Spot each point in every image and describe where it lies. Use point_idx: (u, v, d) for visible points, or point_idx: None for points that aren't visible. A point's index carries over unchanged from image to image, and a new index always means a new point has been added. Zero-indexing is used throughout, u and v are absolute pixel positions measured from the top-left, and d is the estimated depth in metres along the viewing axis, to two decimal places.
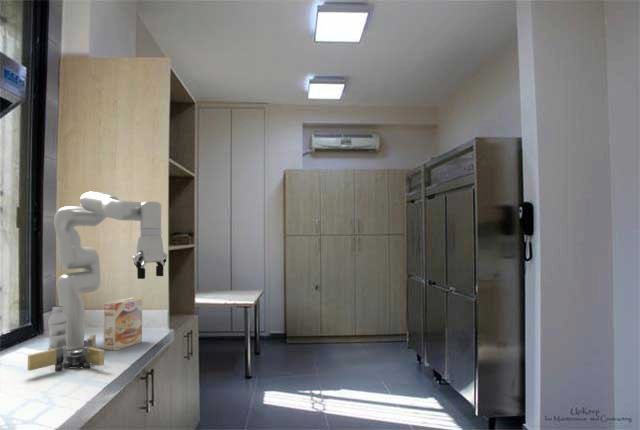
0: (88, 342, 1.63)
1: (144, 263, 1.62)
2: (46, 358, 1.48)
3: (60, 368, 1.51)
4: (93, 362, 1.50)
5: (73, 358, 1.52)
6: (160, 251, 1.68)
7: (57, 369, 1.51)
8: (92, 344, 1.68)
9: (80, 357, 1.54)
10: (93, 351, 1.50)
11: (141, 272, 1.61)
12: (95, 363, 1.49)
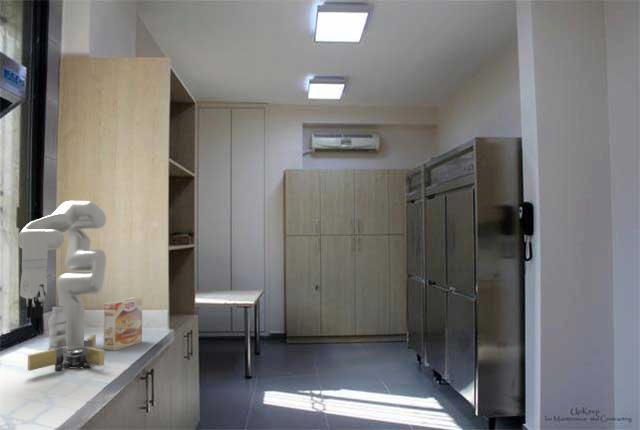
0: (88, 342, 1.63)
1: None
2: (46, 358, 1.48)
3: (60, 368, 1.51)
4: (93, 362, 1.50)
5: (73, 358, 1.52)
6: None
7: (57, 369, 1.51)
8: (92, 344, 1.68)
9: (80, 357, 1.54)
10: (93, 351, 1.50)
11: None
12: (95, 363, 1.49)
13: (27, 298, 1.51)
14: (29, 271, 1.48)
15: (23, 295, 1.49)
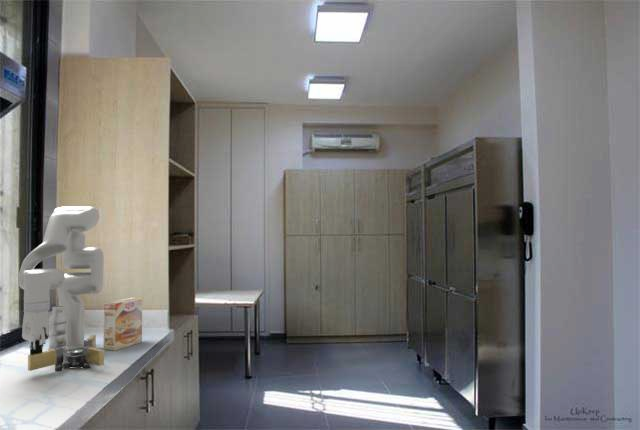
0: (88, 342, 1.63)
1: None
2: (46, 358, 1.48)
3: (60, 368, 1.51)
4: (93, 362, 1.50)
5: (73, 358, 1.52)
6: None
7: (57, 369, 1.51)
8: (92, 344, 1.68)
9: (80, 357, 1.54)
10: (93, 351, 1.50)
11: None
12: (95, 363, 1.49)
13: (30, 340, 1.48)
14: (31, 314, 1.46)
15: (25, 338, 1.47)
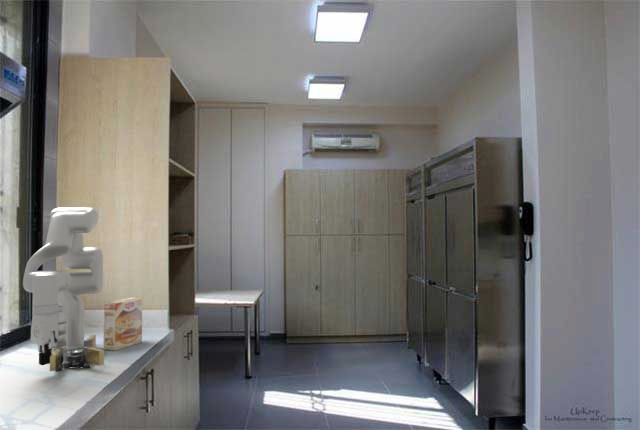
0: (88, 342, 1.63)
1: None
2: (58, 358, 1.48)
3: None
4: (93, 362, 1.50)
5: (73, 358, 1.52)
6: None
7: (60, 368, 1.51)
8: (92, 344, 1.68)
9: (80, 357, 1.54)
10: (93, 351, 1.50)
11: None
12: (95, 363, 1.49)
13: None
14: (40, 317, 1.43)
15: (34, 341, 1.44)
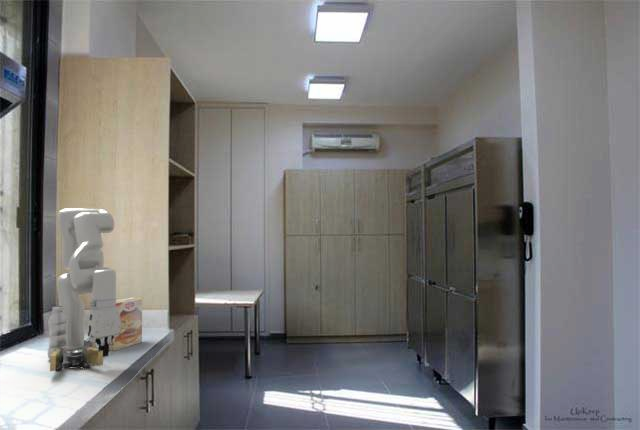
0: (88, 342, 1.63)
1: None
2: (58, 358, 1.48)
3: None
4: (92, 362, 1.50)
5: (73, 358, 1.52)
6: None
7: (60, 368, 1.51)
8: (92, 344, 1.68)
9: (80, 357, 1.54)
10: (92, 351, 1.50)
11: None
12: (94, 363, 1.49)
13: (102, 338, 1.51)
14: (114, 309, 1.54)
15: (104, 335, 1.50)
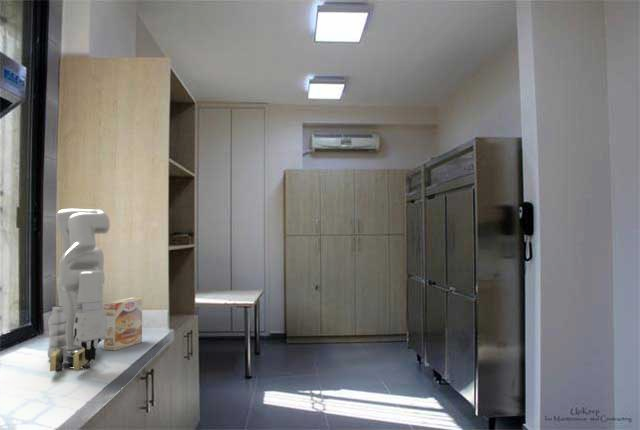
0: None
1: None
2: (58, 358, 1.48)
3: None
4: None
5: (73, 358, 1.52)
6: None
7: (60, 368, 1.51)
8: None
9: None
10: None
11: None
12: None
13: (88, 341, 1.47)
14: (100, 312, 1.50)
15: (90, 338, 1.46)
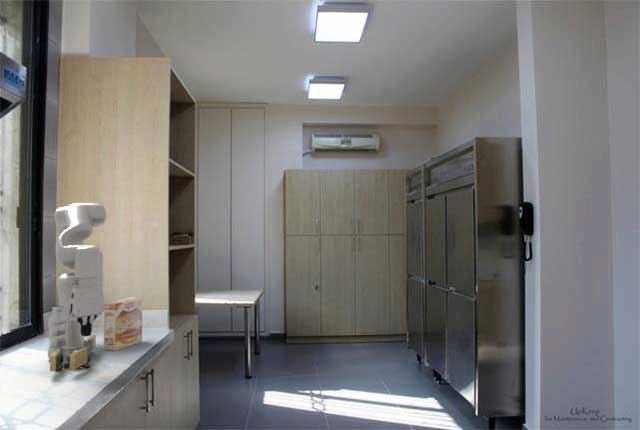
0: (88, 342, 1.63)
1: None
2: (58, 358, 1.48)
3: None
4: None
5: None
6: None
7: (60, 368, 1.51)
8: (92, 344, 1.68)
9: None
10: None
11: None
12: None
13: (84, 317, 1.47)
14: (97, 288, 1.49)
15: (86, 314, 1.46)
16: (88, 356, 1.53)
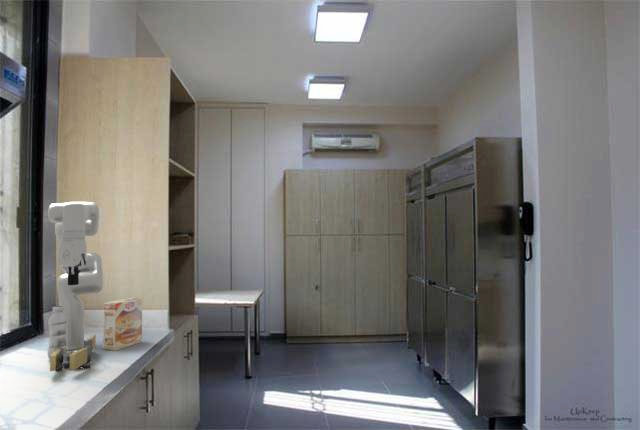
0: (88, 342, 1.63)
1: None
2: (58, 358, 1.48)
3: None
4: None
5: None
6: None
7: (60, 368, 1.51)
8: (92, 344, 1.68)
9: None
10: None
11: None
12: None
13: (67, 267, 1.61)
14: (71, 241, 1.58)
15: (63, 264, 1.59)
16: (88, 356, 1.53)
